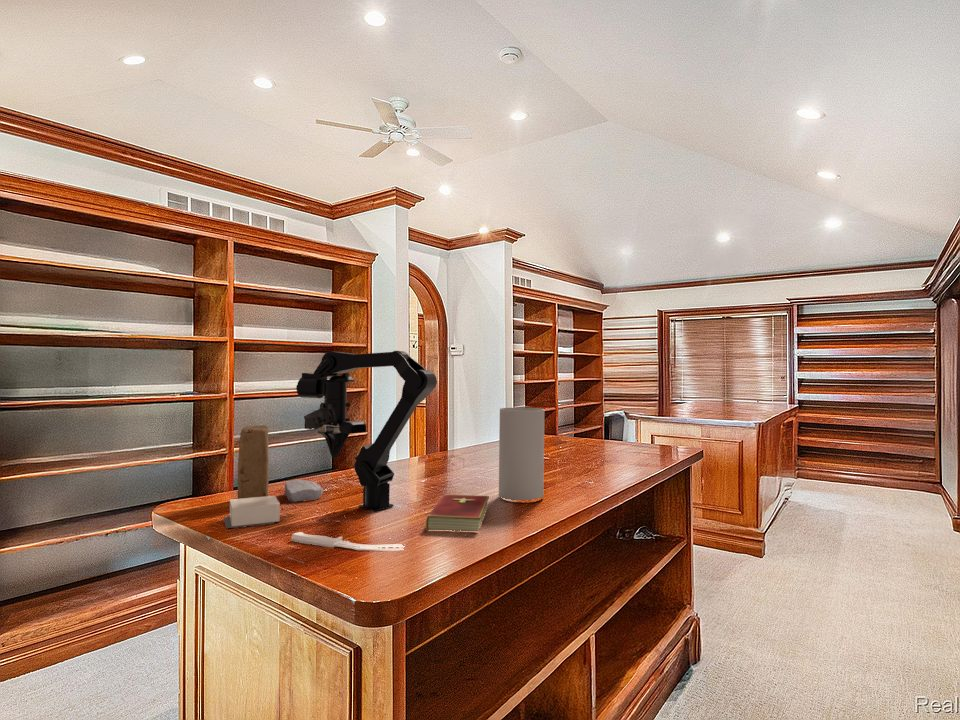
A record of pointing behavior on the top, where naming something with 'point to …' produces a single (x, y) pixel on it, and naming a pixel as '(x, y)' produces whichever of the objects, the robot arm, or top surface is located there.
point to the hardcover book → (457, 513)
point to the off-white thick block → (254, 510)
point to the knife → (341, 543)
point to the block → (253, 462)
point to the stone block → (302, 490)
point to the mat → (228, 525)
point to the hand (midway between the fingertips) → (334, 457)
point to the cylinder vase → (521, 453)
